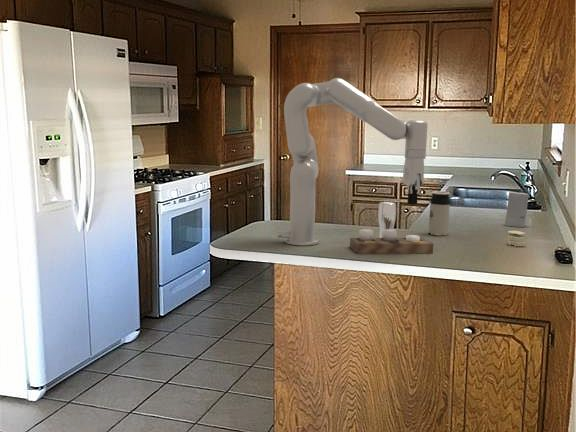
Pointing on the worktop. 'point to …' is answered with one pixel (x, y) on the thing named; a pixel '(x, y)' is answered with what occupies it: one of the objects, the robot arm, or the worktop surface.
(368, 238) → the button left
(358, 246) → the button board
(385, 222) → the beer glass
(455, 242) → the worktop surface
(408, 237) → the button right
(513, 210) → the skincare box
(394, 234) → the button middle
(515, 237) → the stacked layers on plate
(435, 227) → the travel mug
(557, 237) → the worktop surface
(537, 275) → the worktop surface
